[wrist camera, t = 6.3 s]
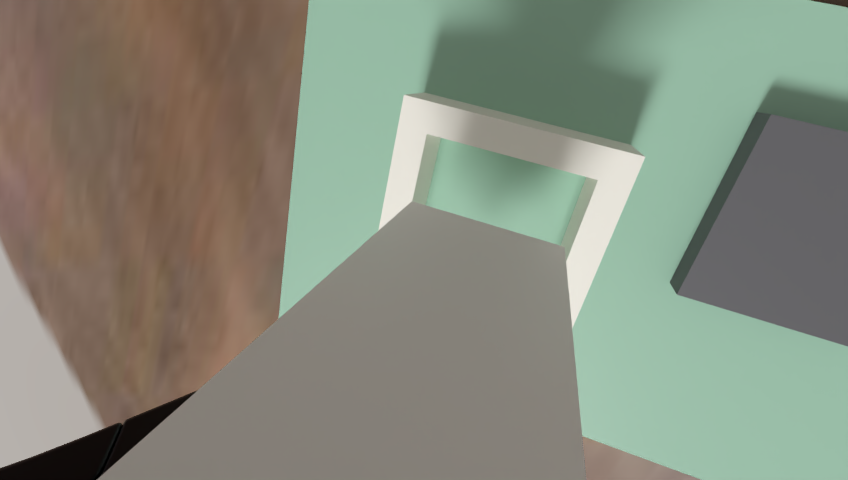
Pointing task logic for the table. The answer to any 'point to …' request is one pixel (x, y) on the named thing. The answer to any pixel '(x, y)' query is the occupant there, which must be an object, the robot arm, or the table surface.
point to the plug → (396, 371)
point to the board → (616, 196)
